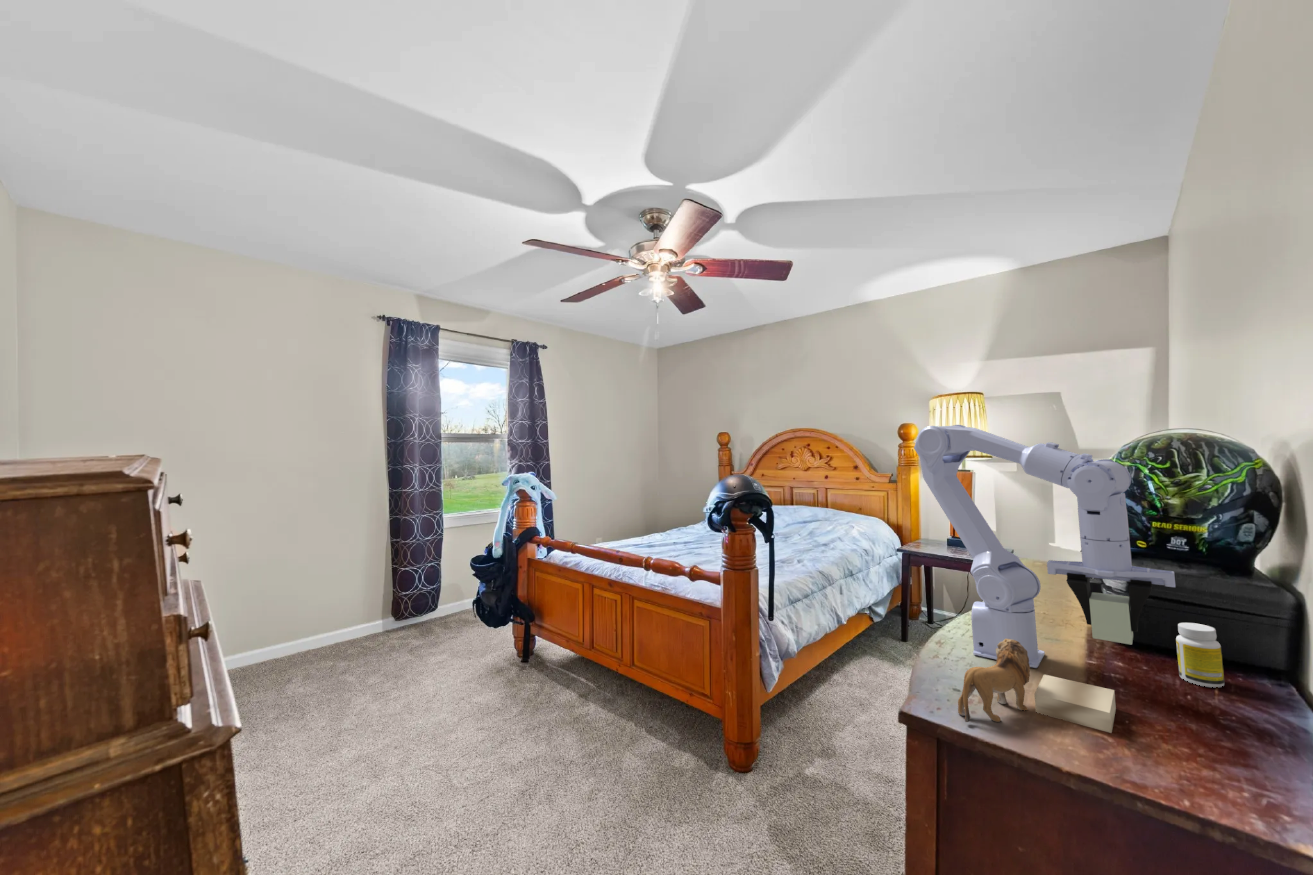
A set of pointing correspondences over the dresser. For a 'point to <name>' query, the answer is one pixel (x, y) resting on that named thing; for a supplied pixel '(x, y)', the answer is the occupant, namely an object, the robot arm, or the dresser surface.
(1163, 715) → the dresser surface
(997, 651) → the lion figurine
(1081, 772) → the dresser surface
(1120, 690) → the dresser surface
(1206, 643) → the supplement bottle
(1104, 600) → the sage green block
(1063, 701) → the pale maple block
